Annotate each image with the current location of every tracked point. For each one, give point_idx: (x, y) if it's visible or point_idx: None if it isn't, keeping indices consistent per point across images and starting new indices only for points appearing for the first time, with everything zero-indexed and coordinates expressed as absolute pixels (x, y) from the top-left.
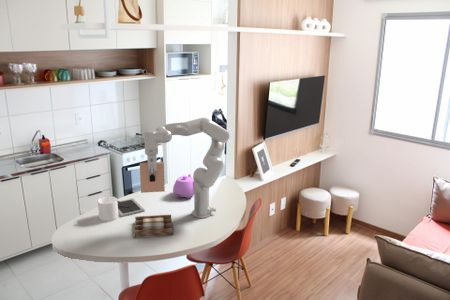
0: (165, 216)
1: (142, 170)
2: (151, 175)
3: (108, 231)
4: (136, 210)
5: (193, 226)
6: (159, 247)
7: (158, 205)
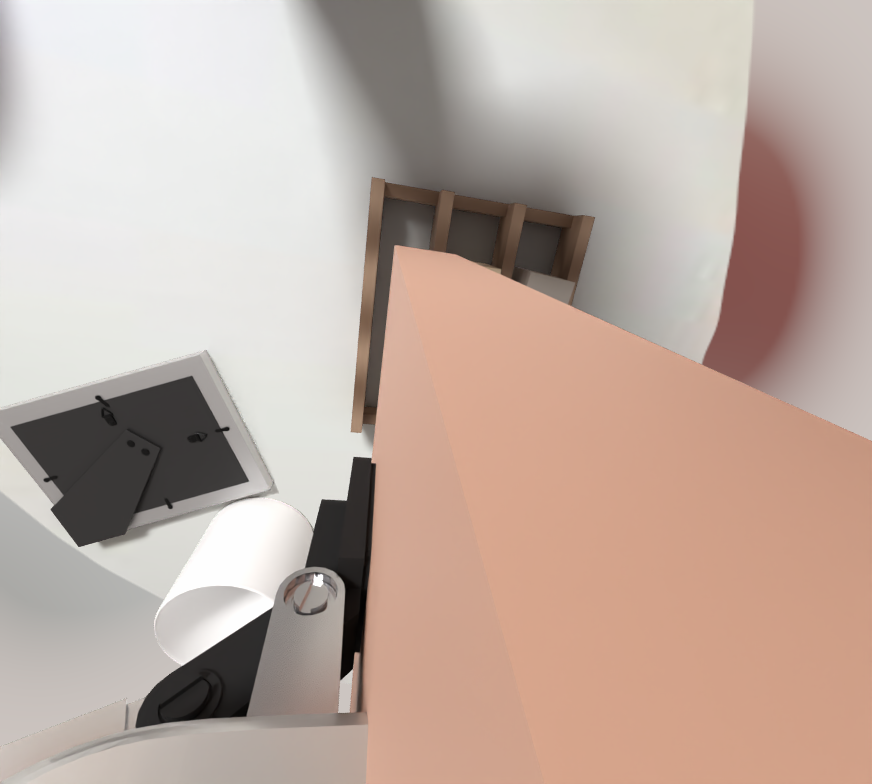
0: (380, 229)
1: None
2: None
3: None
4: (208, 406)
5: (515, 19)
6: (665, 321)
7: (92, 233)
